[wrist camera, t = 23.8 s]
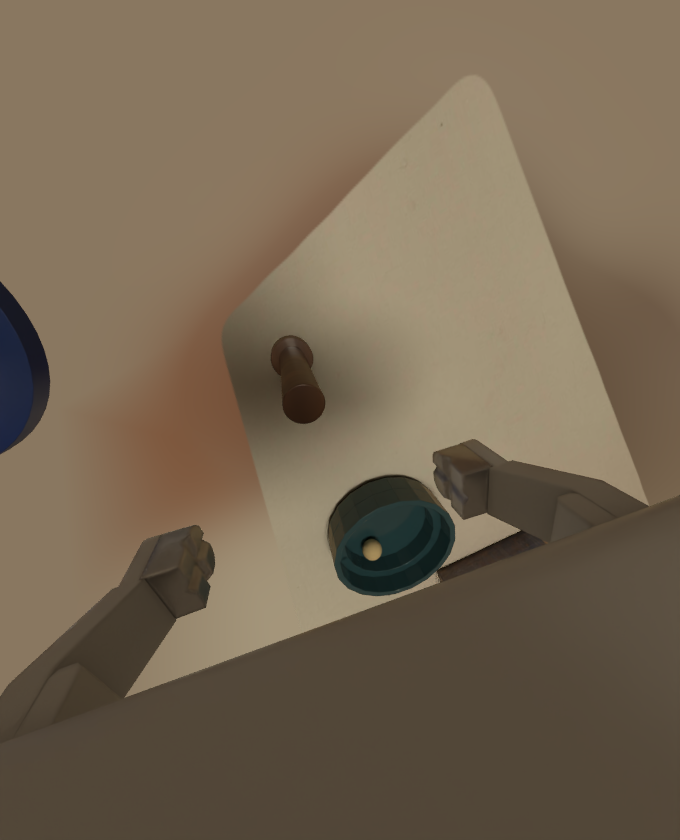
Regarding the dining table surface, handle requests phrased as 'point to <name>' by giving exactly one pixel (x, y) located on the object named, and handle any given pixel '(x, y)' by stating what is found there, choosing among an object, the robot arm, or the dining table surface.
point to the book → (491, 555)
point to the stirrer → (297, 380)
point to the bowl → (390, 536)
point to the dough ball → (372, 549)
